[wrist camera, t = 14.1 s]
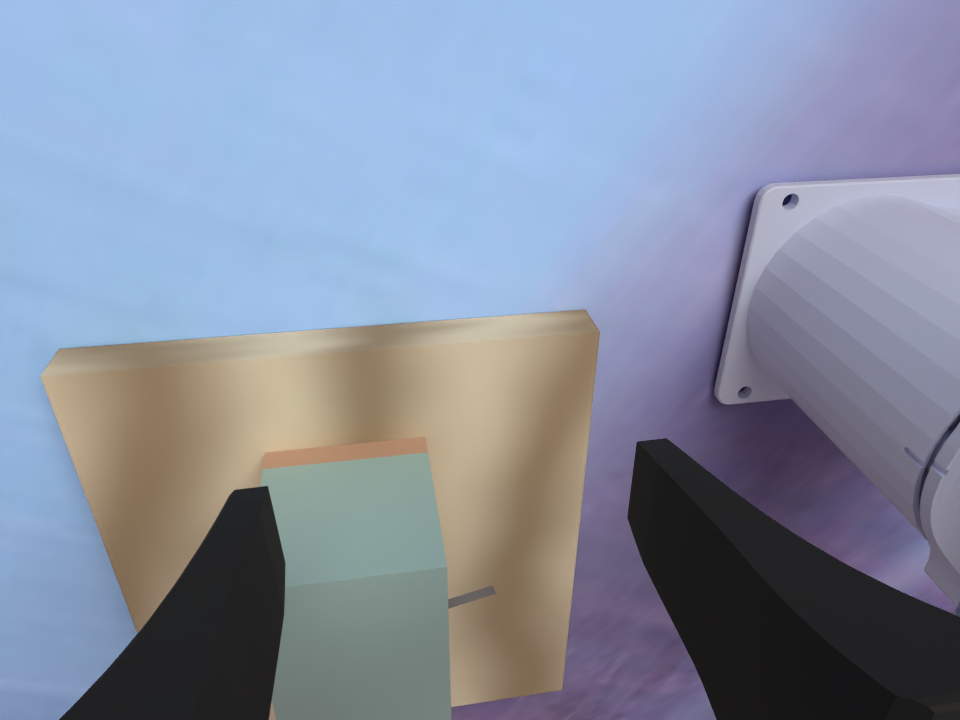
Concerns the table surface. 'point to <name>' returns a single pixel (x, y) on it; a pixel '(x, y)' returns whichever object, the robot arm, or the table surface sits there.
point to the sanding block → (360, 584)
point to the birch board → (351, 420)
